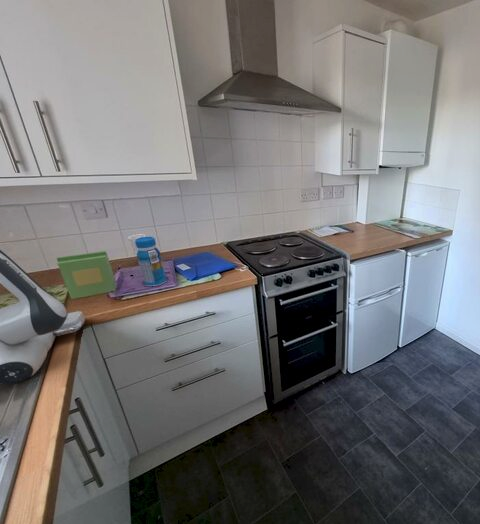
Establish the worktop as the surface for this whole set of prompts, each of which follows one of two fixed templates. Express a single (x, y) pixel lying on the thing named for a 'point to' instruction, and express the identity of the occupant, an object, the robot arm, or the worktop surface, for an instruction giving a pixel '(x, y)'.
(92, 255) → the green square panel
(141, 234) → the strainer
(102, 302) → the worktop surface
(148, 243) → the beverage bottle
